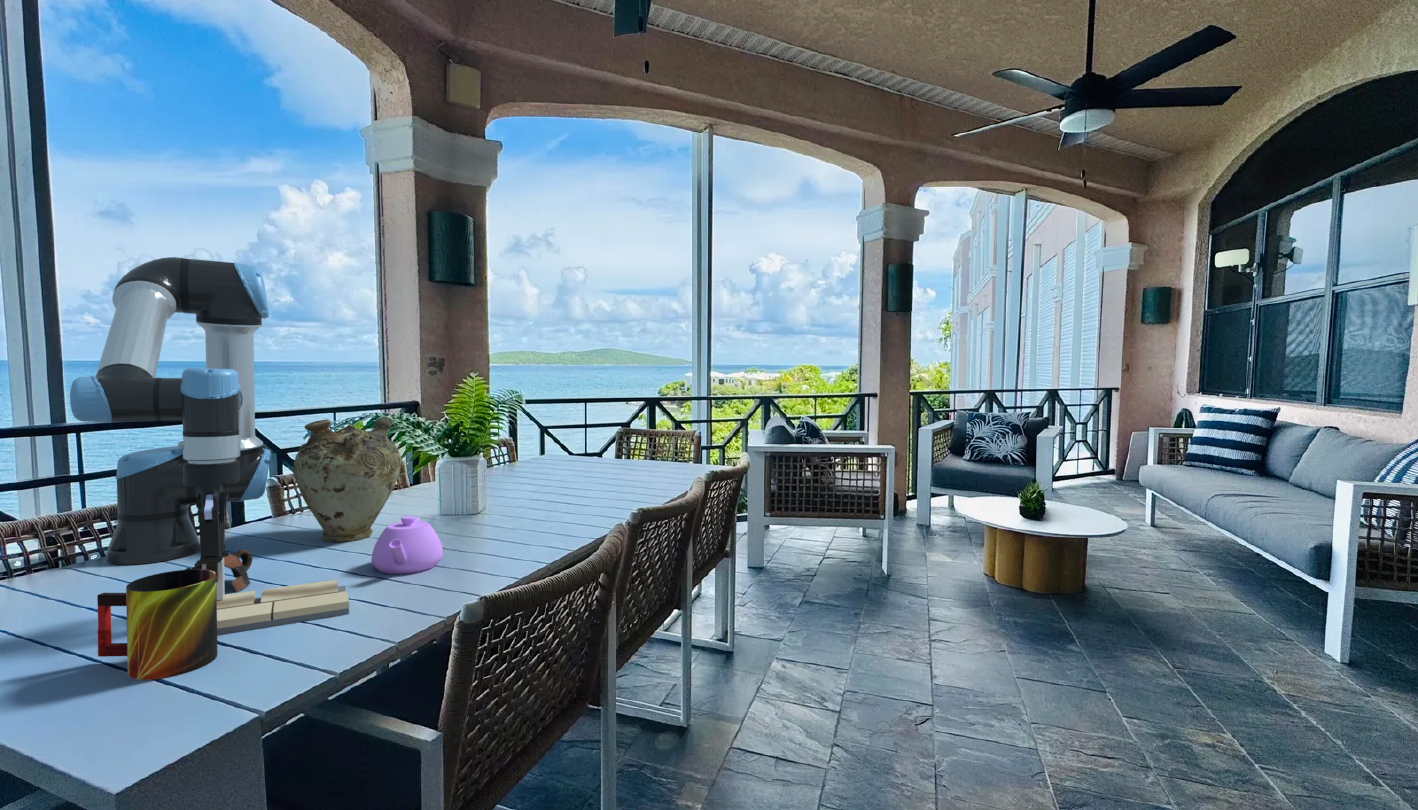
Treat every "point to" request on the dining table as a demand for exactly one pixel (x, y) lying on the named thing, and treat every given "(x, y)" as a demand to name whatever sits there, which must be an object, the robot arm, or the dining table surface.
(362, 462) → the vase
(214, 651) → the mug
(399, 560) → the teapot
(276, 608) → the floor panel
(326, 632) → the dining table surface
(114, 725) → the dining table surface
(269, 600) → the plank far
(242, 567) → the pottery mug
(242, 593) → the plank near
